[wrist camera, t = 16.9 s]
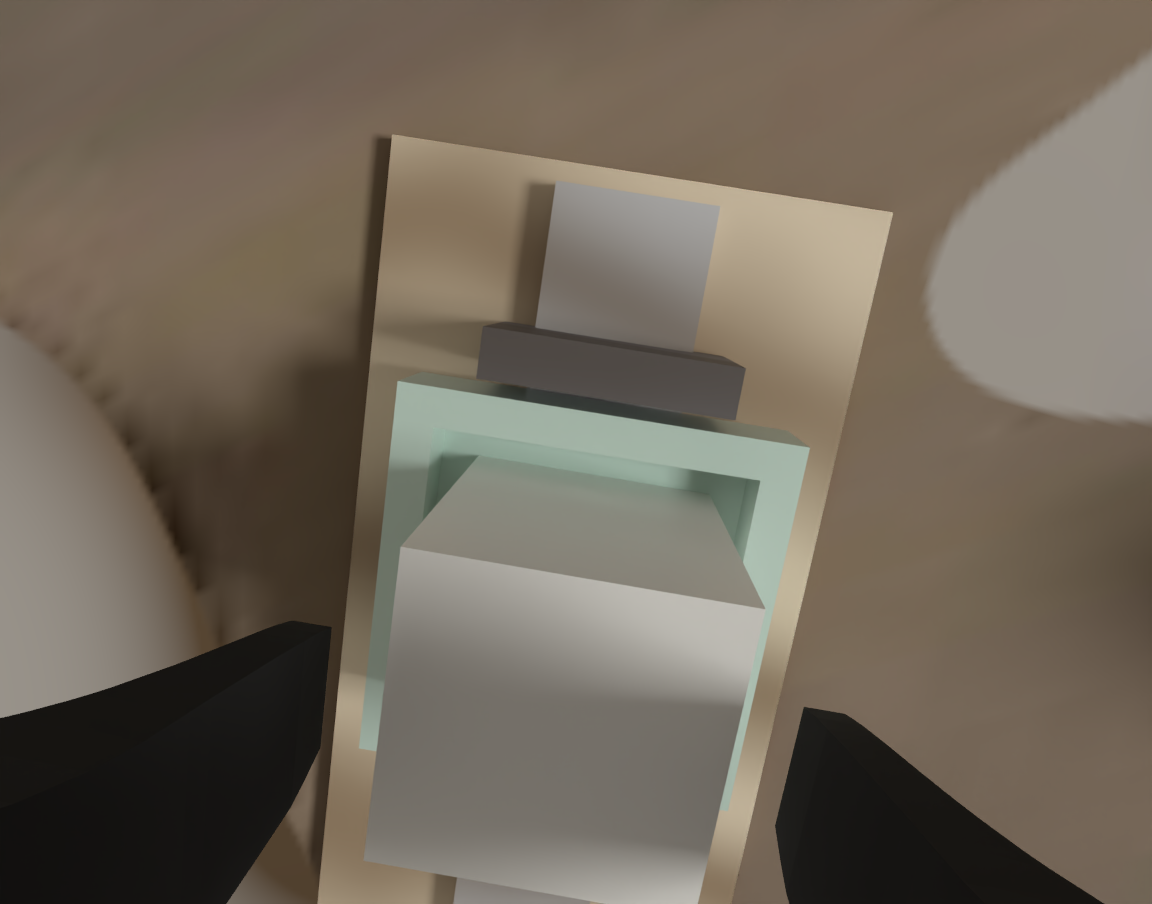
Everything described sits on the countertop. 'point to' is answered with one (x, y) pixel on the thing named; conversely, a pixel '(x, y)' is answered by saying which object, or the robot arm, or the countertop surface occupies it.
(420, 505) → the holder
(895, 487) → the countertop surface
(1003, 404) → the countertop surface
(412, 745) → the block
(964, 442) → the countertop surface
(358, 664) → the beige rectangular board
